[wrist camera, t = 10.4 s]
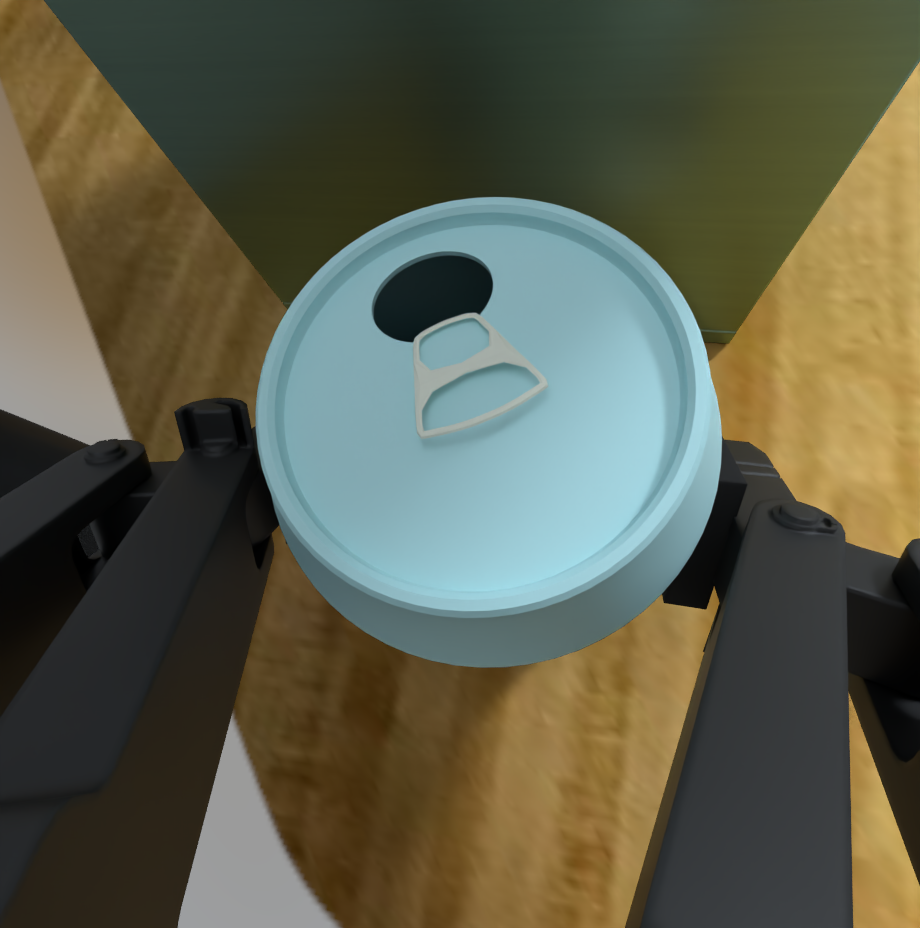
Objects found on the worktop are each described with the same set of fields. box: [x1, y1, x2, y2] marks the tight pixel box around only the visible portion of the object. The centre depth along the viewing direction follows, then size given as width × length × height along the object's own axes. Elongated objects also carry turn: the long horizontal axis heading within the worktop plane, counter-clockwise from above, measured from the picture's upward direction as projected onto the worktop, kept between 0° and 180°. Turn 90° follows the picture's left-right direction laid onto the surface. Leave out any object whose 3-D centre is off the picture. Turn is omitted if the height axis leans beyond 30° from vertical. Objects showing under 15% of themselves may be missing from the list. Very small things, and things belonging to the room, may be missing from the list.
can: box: [256, 197, 722, 668], centre depth 12 cm, size 7×7×12 cm
